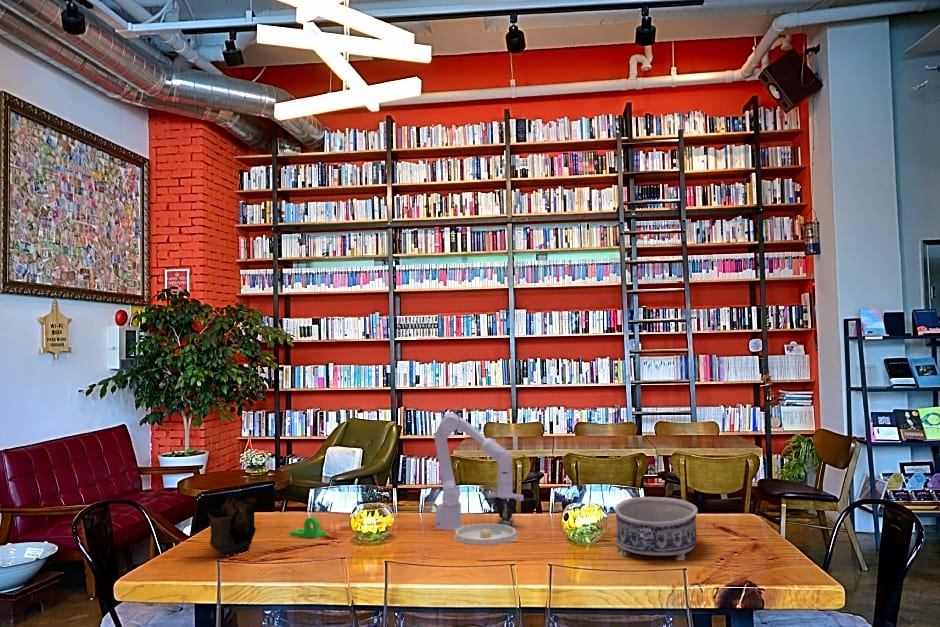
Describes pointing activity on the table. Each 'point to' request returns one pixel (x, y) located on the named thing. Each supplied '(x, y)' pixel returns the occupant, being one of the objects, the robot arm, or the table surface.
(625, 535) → the decorative bowl
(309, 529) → the mechanical part
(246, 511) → the pottery vessel
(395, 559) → the table surface
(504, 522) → the planet gear
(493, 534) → the carrier
